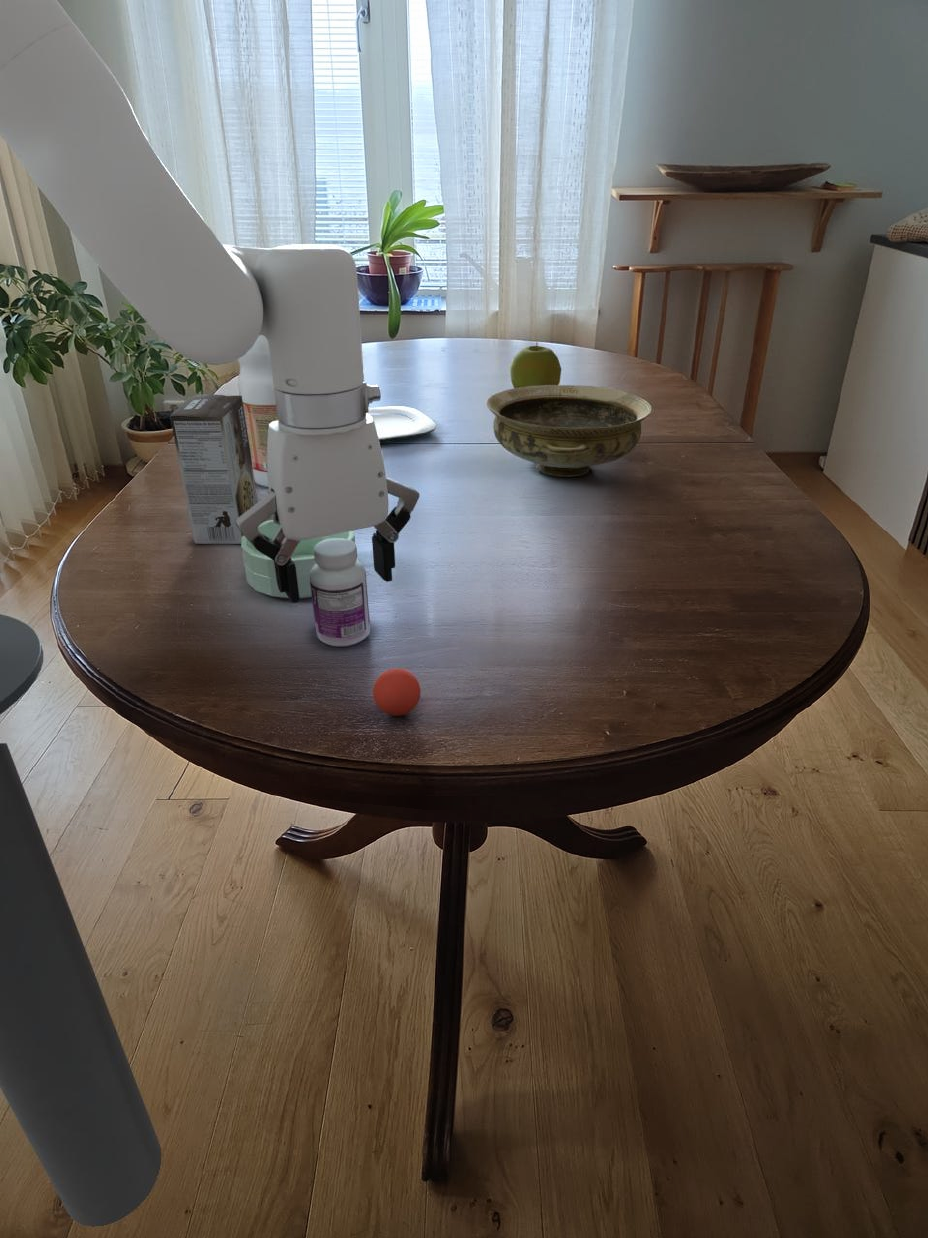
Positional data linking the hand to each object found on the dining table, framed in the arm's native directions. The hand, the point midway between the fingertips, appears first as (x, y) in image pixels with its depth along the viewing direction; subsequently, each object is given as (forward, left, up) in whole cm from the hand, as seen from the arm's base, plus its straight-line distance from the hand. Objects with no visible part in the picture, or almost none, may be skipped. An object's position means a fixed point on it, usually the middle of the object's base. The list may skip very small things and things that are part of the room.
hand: (338, 585), depth 76 cm
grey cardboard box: (+13, +29, -6) cm, 32 cm away
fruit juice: (+31, +36, -6) cm, 48 cm away
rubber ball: (-7, -12, -3) cm, 15 cm away
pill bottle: (0, 0, -6) cm, 6 cm away
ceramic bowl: (+56, +2, -6) cm, 56 cm away
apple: (+89, +24, -6) cm, 92 cm away
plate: (+57, +38, -6) cm, 68 cm away
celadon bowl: (+8, +12, -5) cm, 15 cm away
